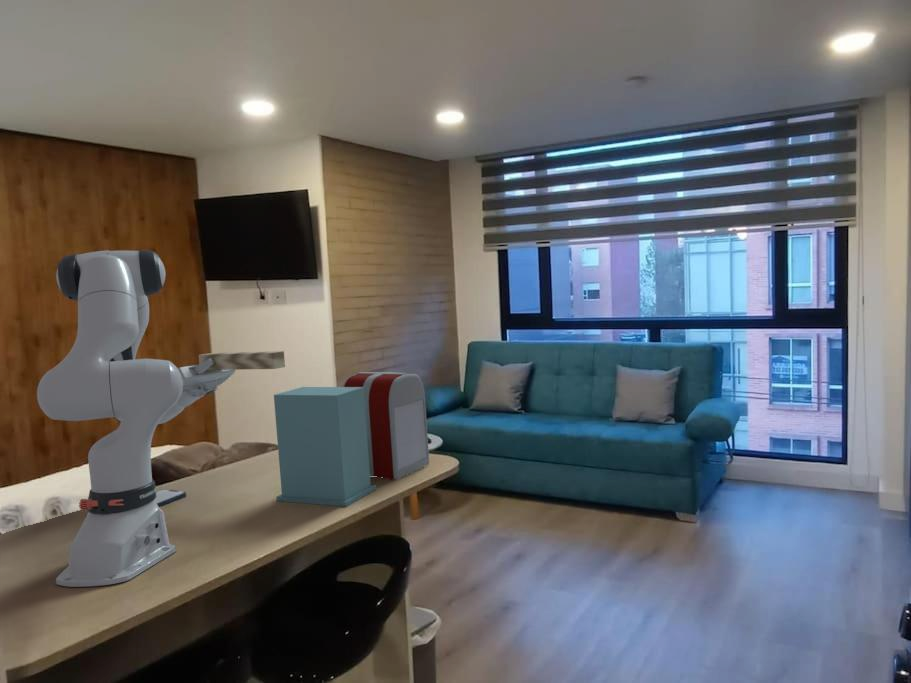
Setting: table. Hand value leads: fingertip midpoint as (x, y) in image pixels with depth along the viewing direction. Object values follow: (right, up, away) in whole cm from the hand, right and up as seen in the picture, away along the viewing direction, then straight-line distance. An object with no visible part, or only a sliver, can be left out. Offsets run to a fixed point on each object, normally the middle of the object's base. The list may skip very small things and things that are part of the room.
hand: (220, 359), depth 184 cm
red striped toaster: (+42, -31, +12) cm, 54 cm away
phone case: (-15, -36, -8) cm, 40 cm away
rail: (+6, -2, -2) cm, 7 cm away
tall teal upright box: (+29, -33, -9) cm, 45 cm away
